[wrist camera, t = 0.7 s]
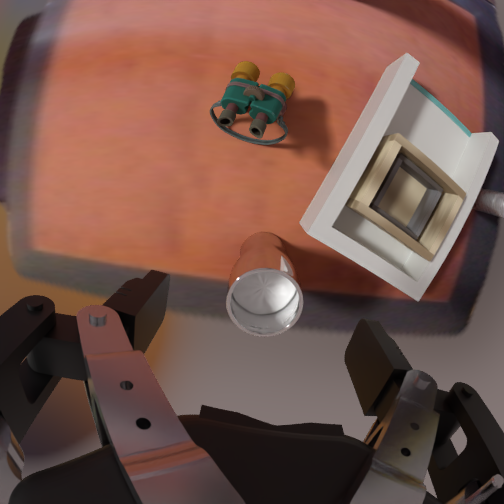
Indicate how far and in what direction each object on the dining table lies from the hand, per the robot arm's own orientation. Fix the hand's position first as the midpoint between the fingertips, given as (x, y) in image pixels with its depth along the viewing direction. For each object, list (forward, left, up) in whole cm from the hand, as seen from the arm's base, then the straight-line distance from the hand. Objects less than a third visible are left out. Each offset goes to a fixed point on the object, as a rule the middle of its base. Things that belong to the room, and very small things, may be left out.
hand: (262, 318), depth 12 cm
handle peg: (-19, +27, -27) cm, 43 cm away
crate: (-11, +14, -25) cm, 31 cm away
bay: (-14, +14, -27) cm, 34 cm away
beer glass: (+5, +3, -27) cm, 28 cm away
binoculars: (-11, -7, -28) cm, 31 cm away
